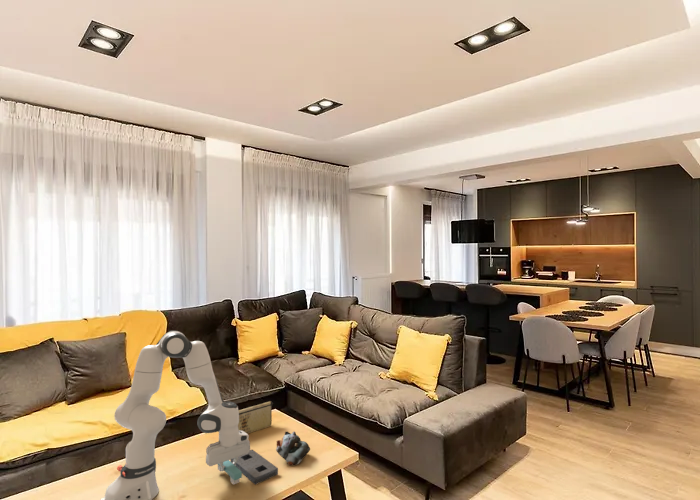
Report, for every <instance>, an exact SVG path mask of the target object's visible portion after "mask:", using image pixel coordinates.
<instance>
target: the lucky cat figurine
mask: <svg viewBox="0 0 700 500" xmlns="http://www.w3.org/2000/svg"><path fill="white" fill-rule="evenodd" d="M275 451H276V453H278V455H279V456H280V457H282V459H283V460H285V462H286V464H287V465H289V466H291V467H292V466H297V465H299V464H300V463H301V462H302V461H303V459H304V458H305V457H306V456H307V455H308V453H309V452H310V451H311V448H310V445H309V444H308V442H307V441H304V440H301V437H300V436H299V435H297V434H296V432H295V431H293V432H292V433H291V432H290V431H285V432H284V435H283V437H282V438H281V439H279V440H276V449H275Z"/></svg>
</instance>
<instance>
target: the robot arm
mask: <svg viewBox="0 0 700 500" xmlns="http://www.w3.org/2000/svg"><path fill="white" fill-rule="evenodd" d="M167 358H173V359H175V358H176V359H177V358H180V359H181V358H182V359H183V361H184V366H185V371H186V374H187V377H188V380H189V382H190V383H192V384H193V385H197V386H201V387H203V389H204V391H205V395H206V398H207V402H208V406H207V409H205V410H204V412H202V413H201V414H200V416H199V417H198V418H197V421H196V422H197V427H198V429H199V431H201V432H202V433H203V434H212V433H213V434H214V433H217V432H218V441H215V442H213V443H210V444H209V445H208V446H207V447H206V449H205V450H206V451H205V452H206V455H205V456H206V457H205V464H206V465H207V466H209V467H213V466H215V465H218V464H219V465H220V466H221V471H220V472H225V470H226V469H225V468H226V467H225V466H224V465H222V464H223V462H225V461H228V460H229V461H230V459H233V458H234V460H233V462H232V464H234V465H235V466H236V462H237V460H238V457H239V456H242V455H245V454H248V453H249V452H250V450H251V442H250V440H249V437H250V435H249V433H248V434H247V433H245V432H244V431H239V429H238V423H239V411H238V410H239V406H238V404H236V403H235V402H233V401H230V400H229V401H224V399H223V397H222V393H221V390H220V387H219V382H218V381H217V377H216V376H215V373H214V369H213V365H212V361H211V357H210V354H209V351H208V348H207V346H206V344H205V342H203V341H200V340H194V341H190V340H189V338H187V337H186V336H185V334H184V333H183V332H181V331H178V330H169V331H168V332H166V333H164V334H163V335H162V336H161V337H160V339H159V340H158V341H157V343H156V344H150V345H146V346H144V347H142V348H141V350H140V352H139V355H138V357H137V360H136V363H135V368H134V372H133V378H132V382H131V386H130V389H129V393H128V394H127V396H126V398H125V400H124V401H123V402H122V403H121V404H119V405H118V406H117V408H116V409H115V411H114V416H113V417H114V420H115V421H116V423H117V424H118V425H119V426H120V427H122V428H125V429H127V430H131V432H132V438H131V440H130V441H129V442H128V443H127V444H126V447H125V464H124V465H122V464H119V465H118V466H117V468H116V469H117V471H118V472H119V474H120V475H119V476H117V478H115V480H114V481H113V482H111V483H110V484H109V485H108V486H107V488H106V490H105V493H104V497H102V498H100V500H153V499H154V498H155V497H156V496H157V495H158V494H159V492H160V488H159V485H158V482H157V477H156V469H157V461H156V458H155V445H156V439H157V436H158V434H159V433H160V432H161V431H162V430H163V429H164V427H165V425H166V422H167V415H166V413H165V412H164V411H163V410H162V409H160V408H159V407H157V406H154V405H151V404H150V401H151V398H152V396H153V395H155V393H156V394H157V392H158V391H159V390H160V387H161V383H162V381H161V380H162V376H163V375H162V374H163V370H164V369H163V368H164V364H165V361H166V360H167Z"/></svg>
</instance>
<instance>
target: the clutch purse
mask: <svg viewBox="0 0 700 500" xmlns="http://www.w3.org/2000/svg"><path fill="white" fill-rule="evenodd" d="M273 404H274V403H273V402H272V401H271V400H269V401H266V402H263V403H259V404H257V405H253V406H248V407H246V408H243V409H238V411H239V423H238V429H239V431H244V432H245V433H247V434H248V435H249V434H250V433H253V432H258V431H259V430H263V429H266V428H269V427H271V426H272V419H273V418H272V416H273V415H272V408H273V407H272V406H273Z"/></svg>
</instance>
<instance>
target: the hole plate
mask: <svg viewBox="0 0 700 500" xmlns="http://www.w3.org/2000/svg"><path fill="white" fill-rule="evenodd" d="M233 460H234V458H233V459H230V460H229V461H230V462H231V463H232V462H233ZM236 467H237V468H238V469H239V470H240V471H241V472H242V476H244V477H245V478H247V480H248V481H250V482H251V483H252V484H254V485H255V486H256V485H257V484H260V483H262V482H264V481H266V480H269V479H271V478H273V477H276V476H278V475H279V468H278V467H277V466H276V465H275V464H273V463H272V462H271V461H269V460H268V459H266V458H265V457H263V455H261V454H259V453H258V452H256V451H255V449H250V452H249V453H248V454H245V455H242V456H239V457H238V460H237V462H236Z"/></svg>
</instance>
